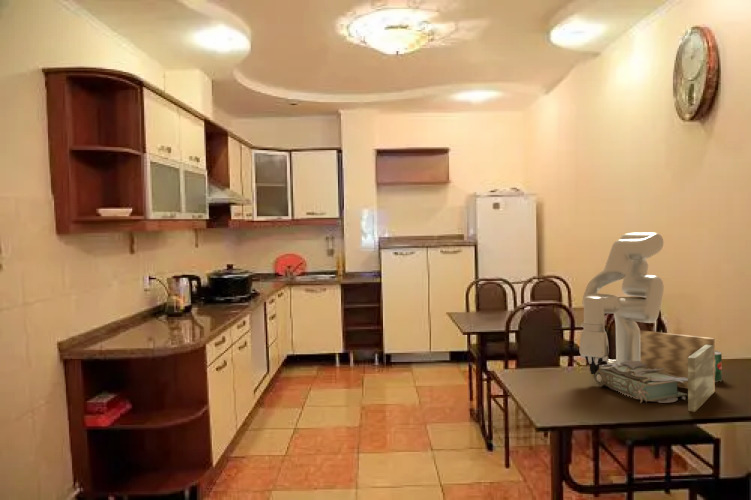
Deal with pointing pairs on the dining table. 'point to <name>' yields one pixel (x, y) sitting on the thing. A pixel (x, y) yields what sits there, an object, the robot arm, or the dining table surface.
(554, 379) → the dining table surface
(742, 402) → the dining table surface
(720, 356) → the canned tomato
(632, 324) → the robot arm
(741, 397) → the dining table surface
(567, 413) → the dining table surface
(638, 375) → the ornate book
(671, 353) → the wooden corner bracket
